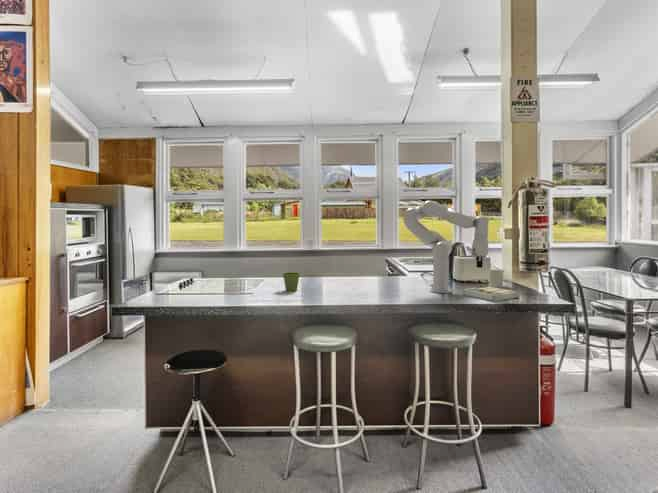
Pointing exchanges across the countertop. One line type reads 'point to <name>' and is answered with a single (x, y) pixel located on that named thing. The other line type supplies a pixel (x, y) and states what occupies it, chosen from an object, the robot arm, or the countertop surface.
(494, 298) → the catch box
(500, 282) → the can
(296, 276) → the plant pot
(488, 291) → the birch plate
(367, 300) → the countertop surface
